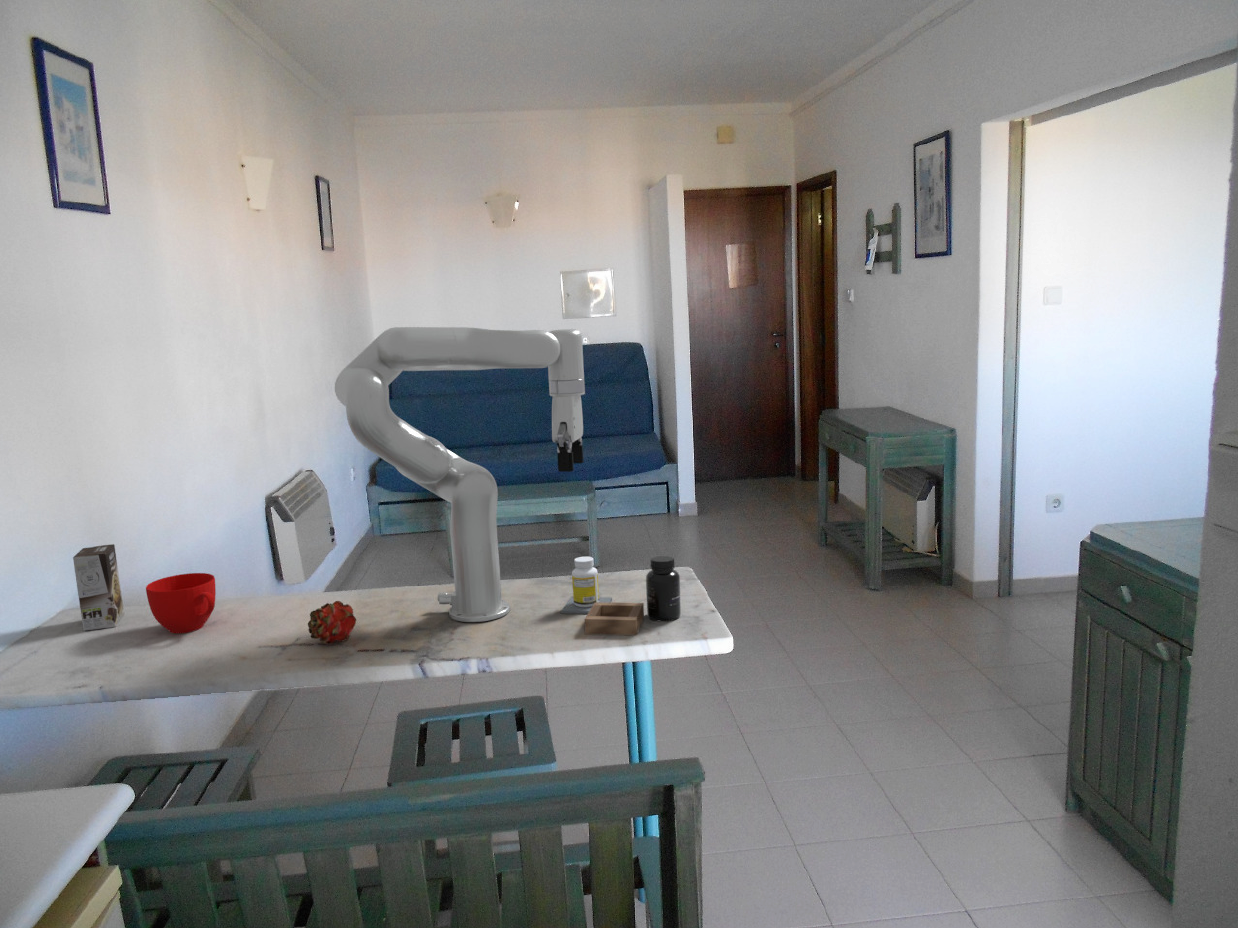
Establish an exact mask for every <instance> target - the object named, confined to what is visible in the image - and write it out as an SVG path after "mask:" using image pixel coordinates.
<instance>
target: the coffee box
mask: <svg viewBox="0 0 1238 928" xmlns="http://www.w3.org/2000/svg"><path fill="white" fill-rule="evenodd" d="M115 547H116V546H115V544H114V543H113V544H104V545H97V546H90V547H83V548H81V550H79V551H77V553H76V554H75V555H74V556H73V557H72V559H73V566H74V573H75V574H74V575H75V581H76V589H77V596H78V601H79V608H80V615H81V621H82V622H81V623H82V630H83V632H84V631H85V632H86V631H92V630H99V629H109V628H115V627H117V626H118V624H119V622H121V620H122V618H123V617H124V615H125V610H124V609H125V608H124V602H123V601H124V600H123V596H122V590H121V581H120V575H119V568H118V567H119V566H118V561H117V554H116V548H115Z"/></svg>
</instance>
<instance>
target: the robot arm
mask: <svg viewBox="0 0 1238 928" xmlns="http://www.w3.org/2000/svg"><path fill="white" fill-rule="evenodd" d="M583 352H584V349H583V336H582V333H581V331H580V330H578V329H576V328H575V329H573V328H571V329H570V328H569V329H568V328H566V329H563V328H562V329H553V330H550V331H547V330H544V329H543V330H539V329H537V330H536V329H530V330H525V329H524V330H514V329H513V330H510V329H509V330H503V329H502V330H501V329H487V328H479V327H465V326H463V327H460V326H459V327H457V326H456V327H455V326H451V327H448V326H446V327H444V326H442V327H440V326H438V327H437V326H436V327H434V326H429V327H427V326H424V327H423V326H405V327H403V326H402V327H401V326H398V327H397V326H395V327H390V328H388V329H386V330H384V331H383V332H381V333H380V334H379V335H378V336H377V337H376V338H375V339H374V340H373V341H372V342H371V343H370V344H368V345H367V347H365V349H364V350H362V351H361V352H360V353H359V354H358V355H357V356H356V357H355V358H354V359H352V361H351V362H350V363H349V364H348V365H346V366H345V367H344V368H343V369H342V370H341V372H339V374H338V375H337V377H336V379H335V381H334V393H335V396H336V398H337V400H338V401H339V403H341V404H342V405H343V406H344V407H345V414H346V420H347V423H348V426H349V429H350V432H351V433H352V435H353V436H354V437H355V439H356V440H357V441H358V443H360V444H361V446H363V447H364V448H366V449H367V450H369V452H371V453H372V454H374V455H376V456H377V457H379V458H380V459H381V460H384V461H385V462H387V463H388V464H390V465H391V466H393V467H394V468H395V469H396V470H397V471H398V472H399V473H400V474H401V475H402V476H404V477H405V478H408V479H409V480H411V481H413V482H414V483H416V484H417V485H418V486H421V487H422V488H424V489H426V490H428V491H429V492H431V493H433V494H435V495H436V496H437V497H439V498H441V499H443V500H445V502H446V501H447V502H448V503H450V518H449V519H450V523H449V530H450V531H449V533H450V545H451V554H452V555H451V556H452V568H453V570H452V571H453V583H454V591H452V592H438V594H437V602H438V603H439V605H450V608H449V609H448V615H449V617H450V618H451V619H453V620H454V621H458V622H462V623H463V622H464V623H481V622H482V623H483V622H487V621H493V620H497V619H500V618H502V617H504V616H506V615H507V614H509V612H510V610H511V607H510V606H511V604H510V603H509V602H508V601H507V600H504V599H502V583H501V570H500V556H499V553H500V552H499V542H498V541H499V540H498V526H497V525H498V524H497V522H498V521H497V512H498V510H497V509H498V498H499V497H498V496H499V495H498V491H499V489H498V485H497V481H496V480H495V477H494V475H492V473H491V472H490V471H489V470H488V469H487V468H485V467H484V466H482V465H479V464H477V463H475V462H471V461H468V460H466V459H464V458H462V457H461V456H459V455H457V454H456V453H454V451H453V452H452V451H451V450H449V449H448V448H447V447H445V445H444V444H443V443H442V442H440V441H439V440H438V439H436V438H435V437H432V436H429V435H427V434H426V433H424V432H422V431H421V430H418V429H417V428H416V427H414V426H412V425H411V424H409V423H408V422H407V421H405V420H403V419H402V418H400V417H399V416H397V415H396V414H395V412H394V411H393V410H392V408H391V406H390V390H389V385H390V384H391V383H393V382H394V380H395V379H397V378H398V376H399V375H401V373H402V372H403V371H406V372H418V371H419V372H420V371H422V372H423V371H424V372H426V371H427V372H428V371H429V372H431V371H481V370H483V371H484V370H493V369H495V370H496V369H497V370H498V369H544V368H545V369H546V368H547V371H548V372H547V373H548V387H549V388H548V390H549V396H550V397H552V398H551V399H552V401H551V403H552V404H551V440H552V442H553V443H556V446H557V447H556V448H557V449H556V451H557V470H558V472H563V473H564V472H566V473H567V472H568V473H569V472H573V471H574V470H575V469H574V468H575V467H574V464H583V463H584V445H583V438H582V437H583V435H584V417H583V416H584V415H583V405H582V402H583V401H582V397H581V396H583V395H586V387H585V372H584V353H583Z"/></svg>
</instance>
